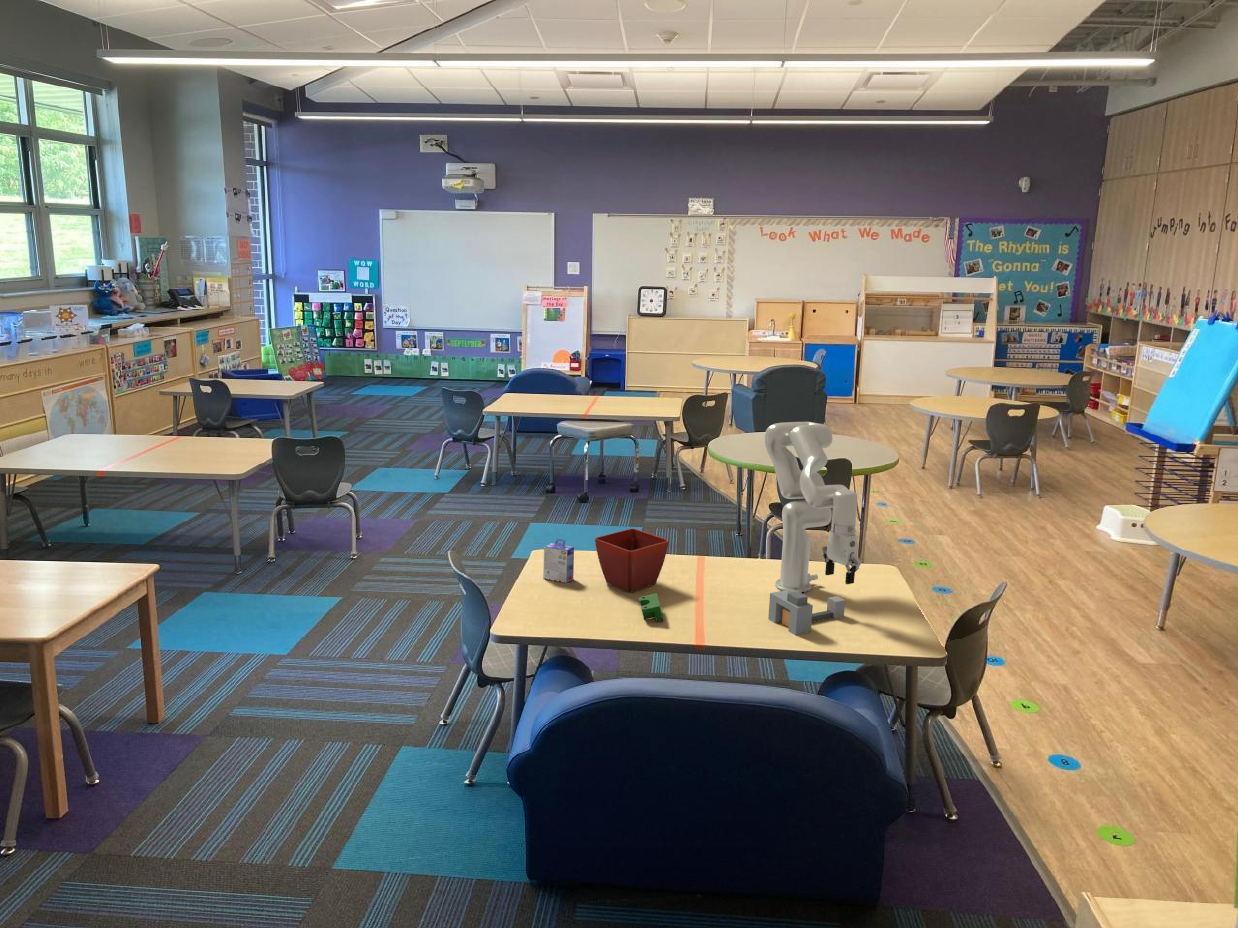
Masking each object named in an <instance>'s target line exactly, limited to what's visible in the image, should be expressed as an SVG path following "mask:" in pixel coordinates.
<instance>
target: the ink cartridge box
mask: <svg viewBox="0 0 1238 928" xmlns="http://www.w3.org/2000/svg"><path fill="white" fill-rule="evenodd" d="M565 544H566V539H562V538H556V540H555V543H553V542H551V543H548V544H547V545H545V546H544V547H543V569H542V570H543V576H542V577H543V579H544V578H546V579H545V580H549V579H550V580H549V581H554V580H556V581H555V582H559V581H561V582H560V583H564V582H565V583H564V584H567V583H569V582H570V580H571V581H573V580H574V572H575V571H574V569H575V568H574V563H575V546H570V545H565ZM572 579H573V580H572Z"/></svg>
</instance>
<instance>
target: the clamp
mask: <svg viewBox="0 0 1238 928" xmlns="http://www.w3.org/2000/svg"><path fill="white" fill-rule="evenodd" d="M639 603H640V609H641V613H642V616H643V618H642V619H643V620H649V619H652V618H655V619H656V623H659V622H662V621H664V619H663V613H662V609H661V605H660V600H659V597H658V593H657V592H656V593H651V594H647V595H642V596H640V597H639Z"/></svg>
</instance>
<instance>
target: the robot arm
mask: <svg viewBox="0 0 1238 928" xmlns="http://www.w3.org/2000/svg"><path fill="white" fill-rule="evenodd" d="M832 442H833V434H832V431H831V429H830V428H829V427H828V426H827V425H825V424H823V423H818V422H812V421H790V422H789V421H788V422H787V421H786V422H777V423H773V424H771V425H769V426H768V427H767V428H766V430H765V432H764V445H765V448H766V451H767V454H768V456H769V458H770V460H771V462H772V464H773V468H774V472H775V473H774V474H775V476H776V480H777V483H778V489H779V491H780V495H781V496H782V497H783V498H784V499H785V500H786V499H789V500H792V501H790V502H787V503H786V504H785V505H784V506H783V508H782V512H781V519H782V529H783V530H782V531H783V532H782V533H783V535H782V550H781V564H780V576H779V578H778V579H777V580H776V581H775V582H774V583H775V587H776V588H777V590H778V589H779V591H784V590H785V591H787V592H789V593H791V592H796V591H798V592H800V593H802V592H804V593H808V592H809V591H811V590H812V584H811V583H810V582H811V581H816V580H819V575H818V574H811V573H809V565H810V564H809V563H810V554H811V553H810V552H811V538H810V536H809V534H808V533H807V531H806V529H809V528H817V527H818V528H819V527H826V526H827V525H829V524H830V523H831V526H830V527H831V528H830V531H829V534H828V538H827V539H828V540H827V545H826V546H823V547H822V548H821V549H822V550H821V551H822V553H823V558H824V563H825V571H824V572H825V573H824V574H825V576H832V575H834V574H835V563H838V564H840V565H842V566H845V569H846V572H845V582H844V583H845V585H851V584H854V583H855V575H856V572H857V571H858V570H859V569H860V566H861V564H862V561H861V560H860V559H859V558H858V554H859V553H858V550H859V549H858V537H857V534H856V532H857V530H856V526H857V525H856V521H857V512H858V511H857V510H858V509H857V508H858V499H859V498H858V494H857V492H855V491H853V490H850V489H848V487H846V485H844V484H825V482H824V481H825V480H824V479H823V477H822V476H821V474H819V472H820V471H821V470H822V469H823V468H824V467H825V466H826V465H827V463H828V461H829V460H828V456H827V454H826V453H825V450H824V449H827V448H829V447H830V446H831V444H832ZM787 447H793V448H794V450H795V453H796V455H797V456H798V459H799V460H800V463H801V465H802V469H800V466H799V463H798V462H799V461H798V459H797V457H796V456H795V455H794V453H792V451H791V450H789V449H788V448H787ZM796 499H799V500H796ZM800 499H805V500H800ZM793 500H795V501H793ZM807 591H808V592H807ZM802 594H803V593H802Z"/></svg>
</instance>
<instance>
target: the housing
mask: <svg viewBox="0 0 1238 928" xmlns="http://www.w3.org/2000/svg"><path fill="white" fill-rule="evenodd" d="M808 599H809V597H808V596H807V594H806V595H805V594H803V593H800V592H798V591H796V592H787V591H785V590H784V591H782V590H779V591H774V592H770V593H769V604H768V617H767V619H768V620H769V621H771V622H773V624H776V623H782V613H783V609H784V608H787V609H789V610H790V617H789V627H788V632H789V633H790V634H793V635H795V636H798V635H802V634H803V633H804V634H808V633H811V632H812V622H811V621H812V614H813V604H811V603H809V602H808ZM807 632H808V633H807ZM804 634H803V635H804Z"/></svg>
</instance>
